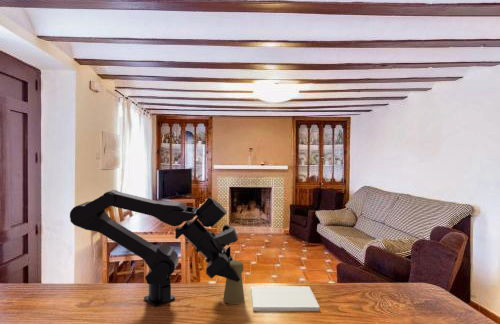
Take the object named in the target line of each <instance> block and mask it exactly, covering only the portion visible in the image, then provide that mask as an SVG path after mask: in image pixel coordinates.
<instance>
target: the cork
mask: <svg viewBox="0 0 500 324" xmlns="http://www.w3.org/2000/svg"><path fill="white" fill-rule="evenodd" d="M230 265H231V266H232V268H233V269H234V270H235V272H236V273H237V274H238V276H239V277H240V280H239V281H238V282H236V281H234V280H231V279H228V278H225V285H224V286H225V287H224V293H223V297H222V298H223V302H224V303H226V304H230V305H238V304H241V303H243V302H244V301H245V292H244V284H243V276H242V275H243V274H242V273H243V272H244V267H245V266H244V263H243V262H242V261H240V260H237V259H233V260H231V261H230Z"/></svg>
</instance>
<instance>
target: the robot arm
mask: <svg viewBox="0 0 500 324" xmlns="http://www.w3.org/2000/svg"><path fill="white" fill-rule="evenodd" d="M110 207H114V208H117V209H118V208H119V209H121V210H127V211H129V212H135V213H137V214H138V213H139V214H143V215H148V216H151V217H153V218H155V219H157V220H158V221H160V222H162V223H164V224H166V225H169V226H171V227H175V229H174V231H175V235H174V236H175V239H176V240H178V239H179V238H180V237H181V236H182V235H183V236H184V237H185V239H187V240H188V241H189V243H190V244H191V245H192V246H194V247H195V250H194V251H195V252H196V253H197V254H198V253H201V255H202V256H203V257H204V258H205V262H206V263H207V264H206V269H205V274H206V275H207V276H208V277H209V278H210V279H213V278H214V277H215V276H217V277H222V278H224V279H226V278H228V279H231V280H234V281H236V282H238V281H239V280H240V277H239V276H238V274H237V273H236V272H235V270H234V269H233V268H232V266H231V265H230V261H231V260H234V259H233V257H232V254H231V249H232V248H231V246H230V244H234V243H236V242H238V240H239V236H238V234H237V232H236V229H235V227H234V226H230V225H229V224H223V226H222V230H221V231H219V232H218V233H215V232H214V231H209V230H208V229H207V228H209V227H210V228H213V227H214V226H216V225H217V223H218V222H220V220H222V219H223V217H225V216H226V215H227V214H228V213H227V210H226V209H225V208H224V206H223V205H222V204H221V203H220V202H218V201H216V200H215V199H214V198H212V197H211V196H208V197H207V199H206V200H205V201H204V202H203V203H202V204H201V205H200V206H199V207H194V206H187V204H186V203H184V202H181V201H172V200H171V201H169V200H168V201H164V200H163V201H160V200H159V201H158V200H154V199H150V198H145V197H142V196H137V195H133V194H129V193H125V192H120V191H118V190H116V189H112V190H109V191H106V192H104V193H103V194H102V195H101V196H99V197H97V198H95V199H94V200H92V201H85V202H83V203H81V204H78V205H76V206H74V207H73V208H72V209H70V212H69V219H70V223H72V224H73V225H74V226H75V227H79V228H81V229H82V230H83V229H84V230H86V231H92V232H97V233H100V234H102V235H103V236H105V237H106V238H108V239H109V240H111V241H113V242H115V243H116V244H117V245H119V246H121V247H123V248H124V249H126V250H127V251H129V252H131V253H133V254H134V255H136V257H139V258H141V259H142V260H143V261H144V263H145V264H146V265H147V266H148V269H149V271H148V272H147V274H146V275H145V277H144V279H145V281H146V284H147V285H148V295H146V296H143V300H144V301H146V302H147V303H150V304H151V305H152V306H154V307H158V306H161V305H164V304H165V303H168V302H171V301H173V300H175V299H176V296H174V295H172V286H171V275H172V274H174V271H175V270H176V268H177V266H178V264H179V255H178V253H177V252H176V250H175V247H171V246H169V245H168V244H166V242H163V241H162V242H161V243H160V245H157V244H153V243H151V242H149V241H148V240H146V239H144V238H143V237H142V236H139V234H136V233H135V232H133V231H132V230H130V229H128V228H126V227H125V226H123V225H122V224H120V223H119V222H117V221H115V220H114V219H112V218H111V217H110V216H109V214H108V213H107V211H106V210H107V209H108V208H110ZM184 222H185V223H184ZM182 224H183V225H182ZM180 225H181V226H180ZM226 246H228V247H226Z"/></svg>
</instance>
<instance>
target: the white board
mask: <svg viewBox="0 0 500 324" xmlns="http://www.w3.org/2000/svg"><path fill="white" fill-rule="evenodd" d="M250 292H251V303H252V311H253V312H258V311H259V312H267V311H269V312H280V311H281V312H293V311H294V312H301V311H302V312H305V311H306V312H311V311H312V312H320V310H321V309H320V308H321V307H320V305H319V303H318V301H317V298H316V296H315V294H314V293H313V291H312V289H311V287H310V286H304V285H302V286H297V285H293V286H292V285H288V286H287V285H286V286H285V285H283V286H282V285H281V286H280V285H279V286H278V285H276V286H275V285H273V286H272V285H271V286H270V285H269V286H268V285H267V286H266V285H265V286H264V285H261V286H260V285H259V286H258V285H251V286H250Z"/></svg>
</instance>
